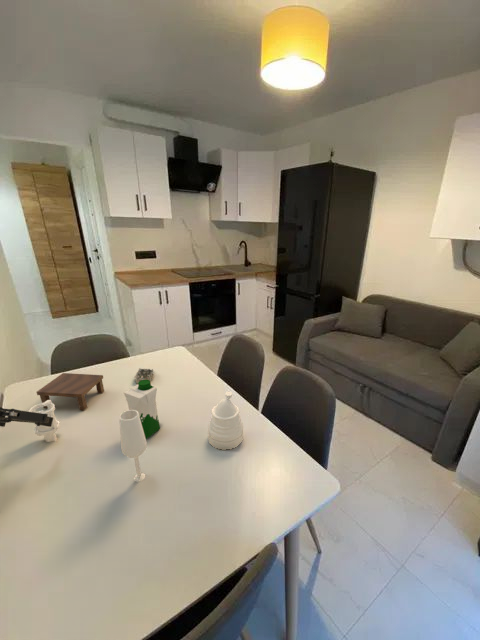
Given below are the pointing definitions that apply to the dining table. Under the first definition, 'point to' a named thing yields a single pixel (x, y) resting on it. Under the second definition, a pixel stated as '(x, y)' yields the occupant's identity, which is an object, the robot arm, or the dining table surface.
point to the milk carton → (144, 405)
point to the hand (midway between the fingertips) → (28, 422)
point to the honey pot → (225, 425)
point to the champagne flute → (132, 438)
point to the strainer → (45, 430)
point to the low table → (72, 387)
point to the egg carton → (144, 375)
